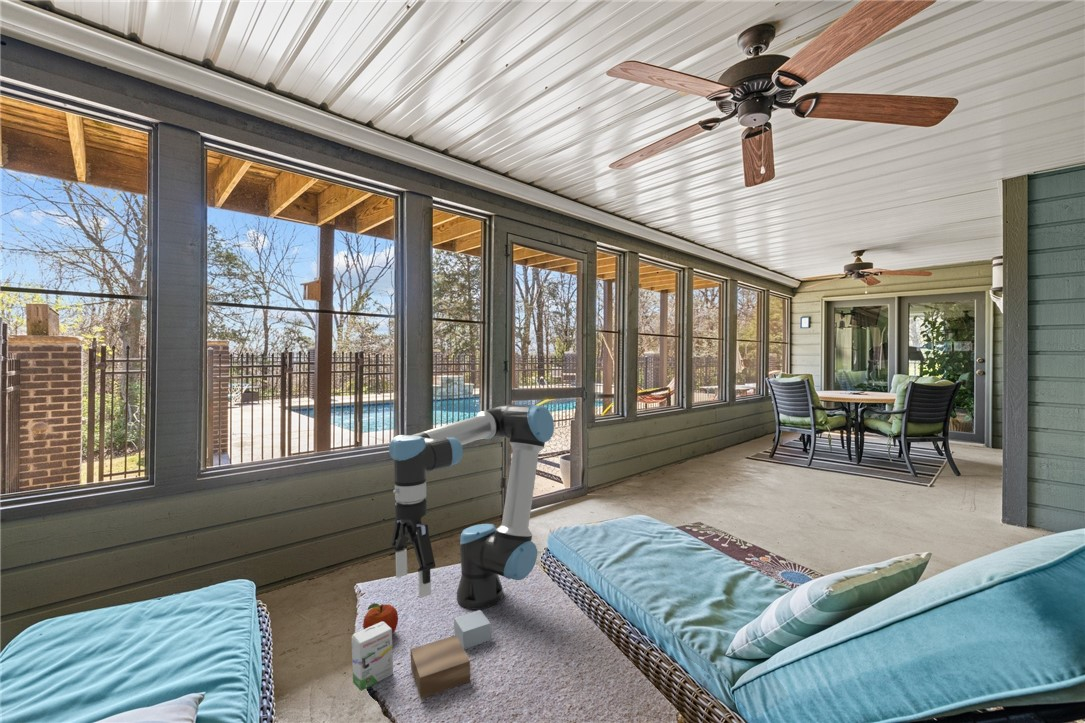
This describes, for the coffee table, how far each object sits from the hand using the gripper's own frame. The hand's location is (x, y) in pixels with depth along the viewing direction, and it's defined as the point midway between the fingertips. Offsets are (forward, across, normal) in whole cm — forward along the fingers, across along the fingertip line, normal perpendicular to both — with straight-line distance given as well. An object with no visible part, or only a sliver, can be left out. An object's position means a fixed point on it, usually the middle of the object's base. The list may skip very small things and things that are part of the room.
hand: (412, 585), depth 113 cm
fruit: (+23, -23, 0) cm, 33 cm away
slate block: (+23, -5, +20) cm, 31 cm away
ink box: (+23, -7, -8) cm, 26 cm away
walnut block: (+23, +3, +5) cm, 24 cm away
